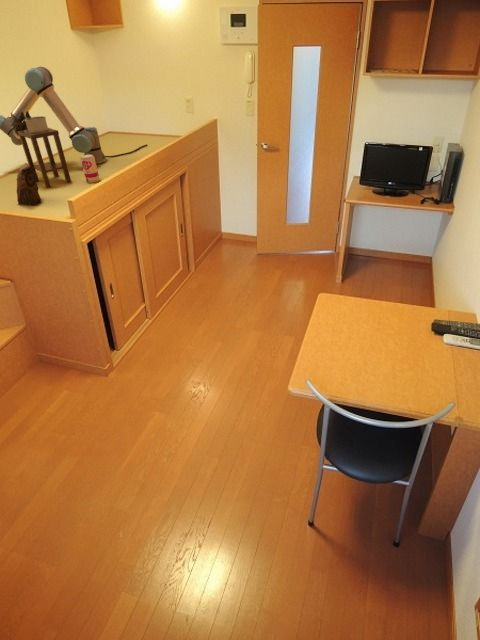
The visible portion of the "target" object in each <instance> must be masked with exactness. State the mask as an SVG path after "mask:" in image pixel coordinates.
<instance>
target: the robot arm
mask: <svg viewBox="0 0 480 640" xmlns="http://www.w3.org/2000/svg"><path fill="white" fill-rule="evenodd" d="M24 82H25V84H26V86H27V87H28V88H27V90H26V91H25V93H24V94H23V95H22V96H21V98H20V99H19V101H18V103H16V105H15V106H14V108H13V110H12V111H11V112H10V114H11V117H9V116H6V117H7V118H6V117H5V116H4V115H2V114H0V130H1V132H3V134H5V135H7V136H8V137H9V138H10V139H11V143H12V144H13V145H15V146H22V142H21V139H20V136H19V135H18V131H21V130H27V129H28V128H27V125H26V122H25V120H24V117H25V116H27V117H32V116H31V115H30V113H29V112H30V111H31V110H32V108H33V106H35V104H36V103H37V101H38V100H39V99H40V98H42V99H43V100H44V102H45V103H46V104H47V106H48V107H49V109H50V110H51V111H52V113H54V115H55V117H56V118H57V119H58V120H59V122H60V124H61V125H62V126H63V127H64V128H65V130H66V131H67V132H68V138H69V139H70V141H71V145H72V148H73V149H74V150H75V151H76V152H78V153H81V154H83V155H89V154H91V155H93V156H94V157H95V161H96V165H100V164H104V163H106V162H107V158H115V157H120V156H124V155H125V156H126V155H130V154H132V153H135V152H137V151H139V150H140V149H142V148H144V147H147V146H148V144H147V143H146V144H143V145H141V146H139V147H137V148H136V149H134V150H132V151H128V152H123V153H119V154H114V155H105V153H104V152H103V150H102V147H101V142H100V137H99V132H98V129H97V127H95V126H86V127H84V126H83V125H80V124H79V123H78V121H77V119H76V118H75V117H74V115H73V114H72V113H71V111H70V110H69V109H68V108H67V106H66V104H65V103H64V101H63V100H62V99H61V97H60V96H59V95H58V93H57V92H56V91H55V85H54V83H53V82H54V77H53V73H52V72H51V71H50V69H48V68H47V67H44V66H36V67H31V68H30V69H28V70H27V71H26V72H25V73H24Z"/></svg>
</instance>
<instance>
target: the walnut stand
mask: <svg viewBox="0 0 480 640" xmlns="http://www.w3.org/2000/svg"><path fill="white" fill-rule="evenodd" d="M18 135H19V136H20V139H21V142H22V145H21V146H22V148H23V153H24V155H25V158H26V161H27V164H28V165H30V166H31V168H32V169H33V170H32V171H33V175H34V176H35V179H36V182H37V183H38V182H40V180H39V176H38V173H37V171H38V172H39V173H40V174H41V177H42V181H43V183H44V186H45V188H46V189H49V188H51V187H52V185H51V183H50V179H49V176H48V173H51V172H52V175H53V177H54V178H58V177H60V175H59V172H58V171H59V170H60V171H61V170H62V171H63V176H64V180H65V182H66V183H67V184H69V183H72V178H71V175H70V172H69V171H70V170H69V167H68V164H67V161H66V157H65V156H66V155H65V152H64V149H63V146H62V142H61V139H60V133H59V130H57V129H53V128H51V127H48V131H46V132H41V133H29V131H28V129H27V130H21V131H18ZM51 136H53V139H54V142H55V146H56V150H57V154H58V157H59V161H60V163H57V162H55V161H56V160H55V157H54V154H53V150H52V147H51V144H50V140H49V137H51ZM26 138H27V139H30V141H31V145H32V148H33V151H34V154H35V158H36V161H37V164H35V163H34V160H33V158H32V154H31V151H30V148H29V144H28V141H27V139H26ZM41 138H42V140H43V144H44V147H45V150H46V154H47V157H48V162H44V159H43V156H42V153H41V149H40V146H39V142H38V139H41Z"/></svg>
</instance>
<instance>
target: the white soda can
mask: <svg viewBox="0 0 480 640" xmlns="http://www.w3.org/2000/svg"><path fill="white" fill-rule="evenodd" d="M80 162H81V165H82V170H83V174H84V177H85V182H87V183H89V184H92V183H97V182H99V181H100V180H101V179H100V175H99V170H98V166H97V164H96V161H95V157H94V156H93V155H91V154H89V155H84V154H83V155H81V156H80Z"/></svg>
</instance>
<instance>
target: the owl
mask: <svg viewBox="0 0 480 640" xmlns="http://www.w3.org/2000/svg"><path fill="white" fill-rule="evenodd" d="M32 170H33V169H32V168H31V166H30V165H29V164H28V162H24V164H22V165H21V166H20V167H19V170H17V171H18V172H17V175H16V177H17V178H16V198H17V199H16V201H17V204H18V205H21V206H32V207H33V206H37V205H39V204H41V203H42V201H41V200H42V199H41V196H40V193H39V190H40V189H39V186H38V182H36V179H35V176H34V175H33V171H32Z"/></svg>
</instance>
